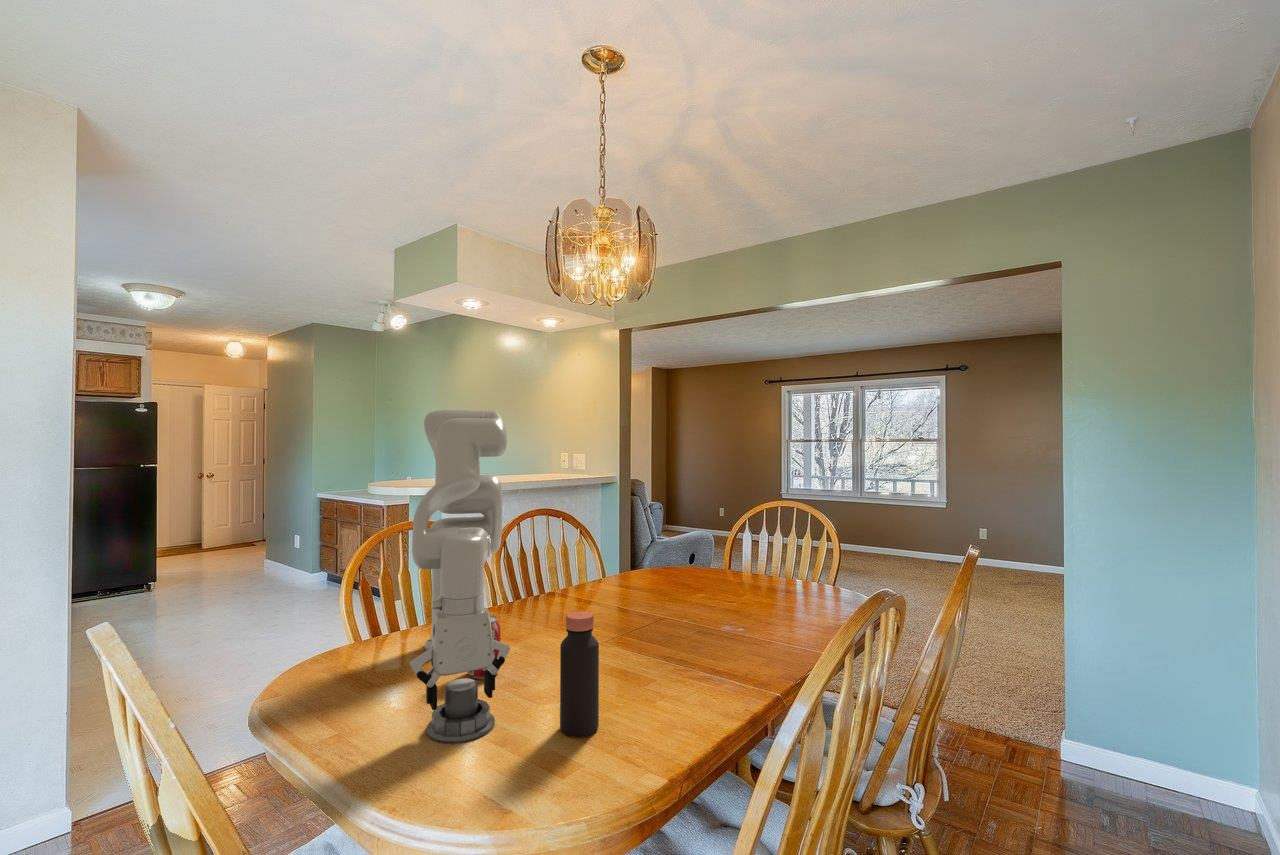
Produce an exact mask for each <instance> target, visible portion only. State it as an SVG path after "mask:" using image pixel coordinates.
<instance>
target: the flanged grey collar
mask: <svg viewBox="0 0 1280 855" xmlns="http://www.w3.org/2000/svg"><path fill="white" fill-rule="evenodd" d="M495 721H496V720H495V717H494V715H493V714H492V713H491V707H490V705H489V703H488V702H487V701H485V700H482V699H481V698H478V714H476V715H474V716H472V717H469V718H465V719H447V718H445V702H443V703H441V704H440V705H437V709H436V710H432V712H431V721H429V723H428V724H427V725H426V735H427V737H428V738H429V739H430V740H431V741H434V742H437V743H439V744H440V743H442V744H451V745H452V744H462V743H466V742H467V743H468V742H471V741H475V740H477V739H480V738H482V737H484V736H487V734H489V733H491V731H492V730H493V729H494V727H495Z"/></svg>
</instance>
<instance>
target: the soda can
mask: <svg viewBox="0 0 1280 855" xmlns="http://www.w3.org/2000/svg"><path fill="white" fill-rule="evenodd" d="M489 615H490V614H489ZM498 618H499V617H497V616H496V615H492V614H491V615H490V621H491V630H492V639H493V640H496V641H499V642H501V639H502V638H501V624H500V622H499V621H498V620H499V619H498ZM498 654H499V650H497V649H494V648H493V660H494V659H495V658H496V657H497V656H498ZM500 669H501V667H500V668H499V669H498V672H500ZM485 670H486V668H483V669H479V670H474V671H469V672H467V674H468V675H469V676H471V677H472V676H473V677H472V678H474V677H475V678H474V679H477V678H484V672H485Z"/></svg>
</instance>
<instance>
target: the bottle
mask: <svg viewBox="0 0 1280 855" xmlns="http://www.w3.org/2000/svg"><path fill="white" fill-rule="evenodd" d="M594 617H595V614H594V613H592V612H589V611H582V610H579V611H571V612H569V613H567V614H566V615H565V631H566V632H567V636H566V637H565V638H564V639H563V640H562V641H561V643H560V650H559V652H560V654H559V655H560V666H559V667H560V670H559V672H560V673H559V674H560V676H559V677H560V678H559V681H560V682H559V684H560V685H559V691H560V692H559V694H560V695H559V715H560V716H559V728H560V731H561V733H563V734H564V736H565V735H566V736H568V737H571V738H585V737H588V736H591V735H593V734H595V733H596V732H597V731H598V728H599V724H600V723H599V714H600V713H599V709H600V708H599V707H600V704H599V700H600V699H599V698H600V697H599V696H600V694H599V693H600V691H599V690H600V688H599V687H600V685H599V684H600V680H599V678H600V675H599V674H600V668H599V667H600V663H599V662H600V643H599V641H598V639H597V638H596V637H595V636H594V635H593V633H592V632H593V631H594V625H595V624H594V619H595V618H594Z"/></svg>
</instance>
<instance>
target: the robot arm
mask: <svg viewBox="0 0 1280 855" xmlns="http://www.w3.org/2000/svg"><path fill="white" fill-rule="evenodd" d="M423 422H424V423H423V425H424V426H423V427H424V432H425V435H426V436H425V437H426V439H427V441H428V443H429V445H430V447H431V449H432V452H433V456H434V460H435V484H434V485H433V486H432V487H431V488H430V489H429V490H428V491H427V492H426V493H425V494H424V496H422V498H421V499H420V501H419V503H418V505H417V507H416V509H415V511H414V515H413V520H412V540H411V542H412V543H411V544H412V545H411V549H412V550H411V551H412V552H411V554H412V560H413V563H414V564H415V566H417V567H418V568H419V569H421V570H431V605H430V606H431V638H428V639H427V640H426V641H425V643H424V649H425V651H424V652H423V653H421V654H419V655H418V656H416V657H415V658H413V659H411V661H410V662H409V664H410V665H409V666H410V667H411V669H412V671H413V672H414V675H415V676H416V677H417V679H418V680H419V681H420V682H422V683H423V684H425V685H426V686H425V687H426V688H425V689H426V691H425V693H426V694H425V695H426V696H425V700H426V704H427V705H430V708H431V709H432V711H434V710H436V709H437V706H438V686H437V684H436V682H438V680H439V679H440V677H441V676H442V677H444V676H445V677H446V676H451V675H452V676H453V675H457V674H464V673H468V672H469V671H474V670H479V669H483V668H486V670H485V672H484V679H483V693H484V694H485V695H486V697H487V698H489V699H491V698H493V693H494V692H493V691H495V690H496V675H497V674H498V672H499V671H498V669H499V668H500V669H501V667H502V666H503V665H504V663H505V661H506V658H507V657H508V654H509V653H510V650H511V647H510V646H509V645H508V644H507V643H504V642H499V641H496V640H493V639H492V630H491V621H490V611H489V609H487V608H486V607H485V563H486V561H487V560H488V558H490V556H491V554H495V553H497V552H498V551H499V549H500V547H501V544H502V534H503V533H502V532H503V531H502V528H503V526H502V525H503V524H502V522H503V488H502V484H501V481H500V479H499V478H498V477H497V476H495V475H491V474H481V472H480V471H481V470H480V458H485V457H486V458H494V457H498V458H499V457H501V456H503V455H504V453H505V452H506V449H507V444H508V435H507V434H508V432H507V430H506V424H505V423H504V420H503V418H502V417H501V415H500V414H499V413H498V412H496V411H494V410H493V411H492V410H463V409H462V410H461V409H442V410H441V409H439V410H438V409H437V410H434V411H430V412H429V413H427V414H426V415H425V417H424V421H423ZM437 511H439V512H441V513H443V514H447V515H452V514H453V515H461V514H462V515H463V514H481V515H483V516H459V517H458V516H457V517H456V516H455V517H444V518H440V519H438V520H436V521H434V522H433V523H432V524H431V525H430V527H429V521H430V518H431V517H432V516H433V515H434V514H435V513H436V512H437ZM493 648H494V649H497V650H499V654H498V656H497V657H496V658H495V659H494V660H493ZM428 661H430V663H431V668H430V669H429V670H428V672H425V670H423V669H422V666H423V665H424V664H426V662H428ZM500 669H499V670H500Z"/></svg>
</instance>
